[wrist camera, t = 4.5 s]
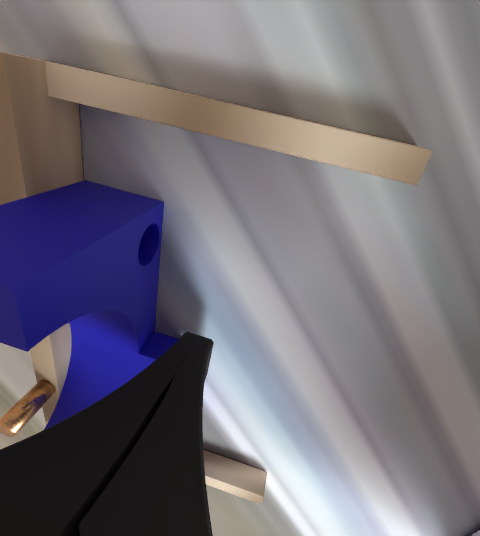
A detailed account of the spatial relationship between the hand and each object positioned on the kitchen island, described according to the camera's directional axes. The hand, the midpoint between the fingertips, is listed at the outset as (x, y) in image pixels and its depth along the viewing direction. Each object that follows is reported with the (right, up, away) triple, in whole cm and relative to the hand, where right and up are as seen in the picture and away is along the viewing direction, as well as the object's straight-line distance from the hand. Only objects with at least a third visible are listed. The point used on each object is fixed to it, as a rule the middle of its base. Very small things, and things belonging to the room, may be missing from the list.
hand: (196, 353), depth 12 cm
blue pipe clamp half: (-3, +1, +2) cm, 3 cm away
